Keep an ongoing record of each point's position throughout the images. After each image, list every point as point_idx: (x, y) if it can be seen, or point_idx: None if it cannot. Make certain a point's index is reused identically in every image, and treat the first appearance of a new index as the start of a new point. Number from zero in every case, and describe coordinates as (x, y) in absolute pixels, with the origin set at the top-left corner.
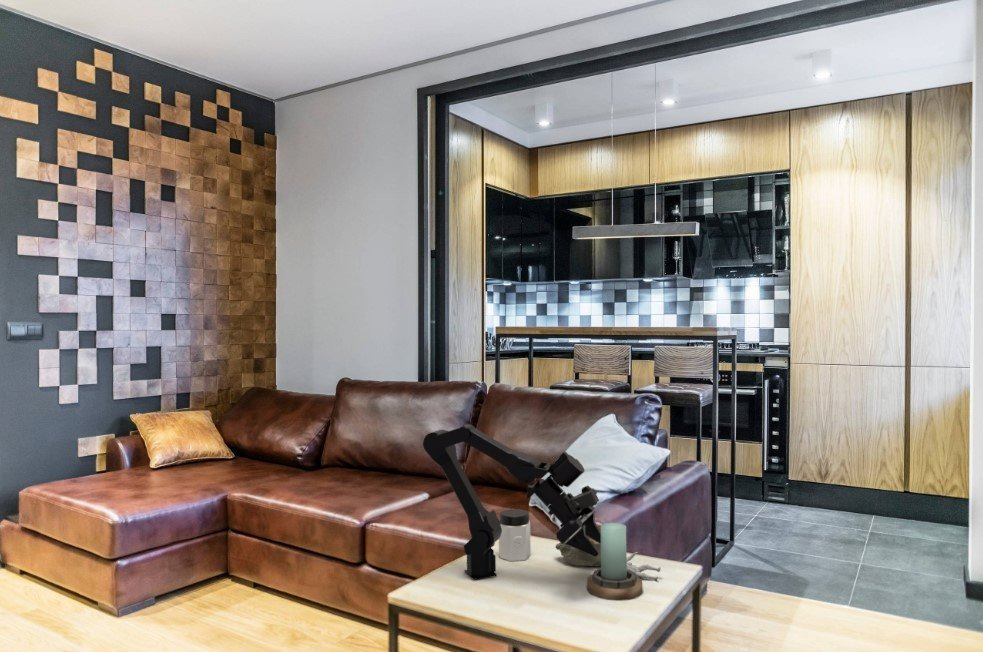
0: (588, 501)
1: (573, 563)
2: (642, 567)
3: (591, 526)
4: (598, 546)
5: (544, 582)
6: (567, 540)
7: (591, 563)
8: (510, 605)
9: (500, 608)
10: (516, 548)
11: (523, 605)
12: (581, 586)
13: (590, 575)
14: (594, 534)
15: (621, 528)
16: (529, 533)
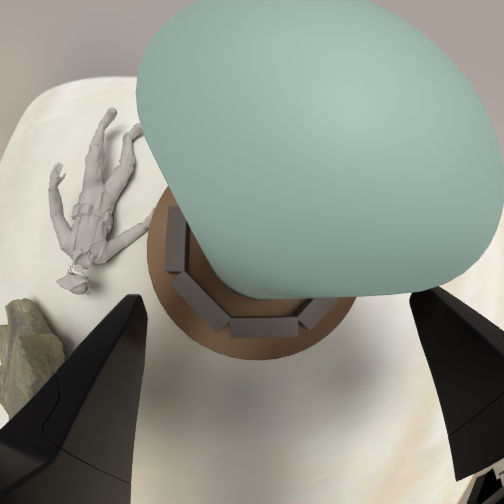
0: None
1: None
2: (99, 165)
3: (87, 458)
4: (29, 353)
5: (271, 481)
6: (460, 479)
7: None
8: (435, 462)
9: (448, 465)
10: None
11: (434, 443)
12: (267, 373)
13: (229, 355)
14: (120, 400)
15: (390, 18)
16: None
